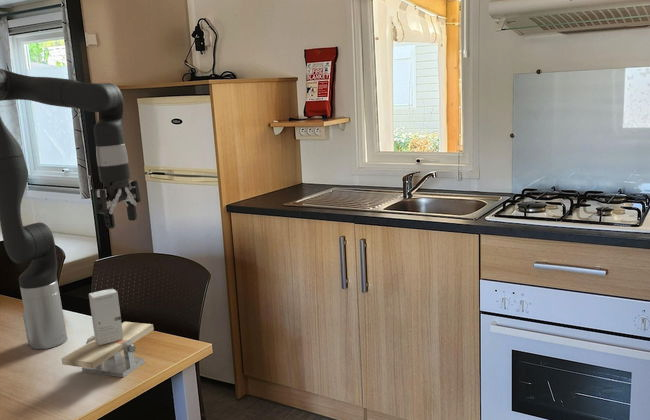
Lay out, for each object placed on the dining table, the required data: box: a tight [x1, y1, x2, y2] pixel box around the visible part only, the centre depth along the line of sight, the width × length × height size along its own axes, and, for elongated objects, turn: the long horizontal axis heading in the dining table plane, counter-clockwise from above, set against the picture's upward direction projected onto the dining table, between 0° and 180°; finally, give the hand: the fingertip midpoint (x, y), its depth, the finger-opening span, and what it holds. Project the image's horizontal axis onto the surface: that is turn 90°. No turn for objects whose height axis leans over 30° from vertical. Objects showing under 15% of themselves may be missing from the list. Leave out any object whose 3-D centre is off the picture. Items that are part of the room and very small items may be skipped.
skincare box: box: [88, 288, 123, 345], centre depth 149 cm, size 6×4×12 cm
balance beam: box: [61, 321, 155, 369], centre depth 150 cm, size 9×22×2 cm, turn 158°
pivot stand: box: [81, 335, 146, 378], centre depth 151 cm, size 14×8×7 cm, turn 68°
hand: (122, 224), depth 161 cm, fingers open, 8 cm apart
